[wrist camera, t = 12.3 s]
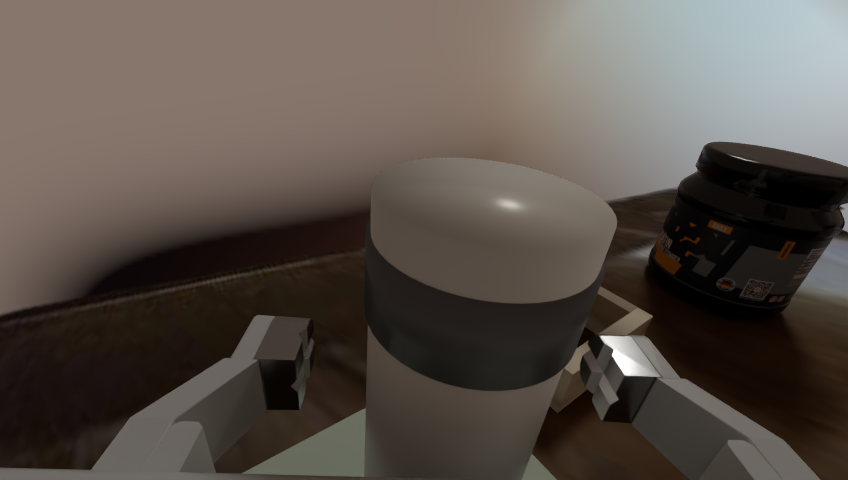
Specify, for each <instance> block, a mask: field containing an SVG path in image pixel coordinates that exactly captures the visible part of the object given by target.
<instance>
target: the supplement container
mask: <svg viewBox="0 0 848 480" xmlns="http://www.w3.org/2000/svg"><path fill="white" fill-rule="evenodd" d="M696 167H697V169H698V170H697V172H695V173H694V174H692V175H690V176H688V177H686V178H685V179H684V180H682V181H681V183H680V184H679V187H678V193H677V196H676V198H675V200H674V202H673V205H672V207H671V209H670V211H669V214H668V216H667V218H666V220H665V223H664V225H663V227H662V229H661V232H660V234H659V236H658V238H657V241H656V243H655V245H654V247H653V248H652V250H651V252H650V254H649V259H648V263H649V267H650V270H651V271H652V273H653V274H654V276H655V277H656V278H657V279H658V280H659V281H660V282H661V283H662V284H663V285H664V286H665V287H666V288H668V289H669V290H671V291H672V292H673V293H675V294H677V295H678V296H680V297H682V298H683V299H685V300H687V301H689V302H691V303H694V304H696V305H698V306H700V307H703V308H706V309H708V310H711V311H714V312H717V313H721V314H725V315H729V316H734V317H740V318H753V319H759V318H768V317H772V316H775V315H777V314H779V313H781V312H782V311H783V310H784V309H785V308H786V307H787V306H788V304H789V303H790V301H791V298H792V296H793V295H794V293H795V292H796V291H797V289H798V288H799V286H800V285H801V283H802V282H803V281H804V279H805V278H806V276H807V275H808V273H809V272H810V271H811V269H812V268H813V266H814V265H815V263H816V262H817V260H818V259H819V258H820V256H821V255H822V253H823V252H824V250H825V249H826V248H827V246H828V245H829V243H830V242H831V240H832V239H833V238H834V237H835V236H837V235H838V234H839V233H840V232H841V230H842V229H843V227H844V224H845V221H844V218H843V216H842V213H841V210H840V208H839V207H840V205H842V204H845V203H848V167H846V166H843V165H840V164H837V163H833V162H830V161H827V160H823V159H819V158H816V157H812V156H807V155H803V154H799V153H794V152H789V151H784V150H779V149H774V148H768V147H762V146H756V145H749V144H741V143H732V142H712V143H708V144H707V145H705V146H704V148H703V150H702V152H701V155H700V156H699V159H698V161H697V163H696Z"/></svg>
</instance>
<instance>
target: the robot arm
mask: <svg viewBox="0 0 848 480" xmlns="http://www.w3.org/2000/svg"><path fill="white" fill-rule="evenodd" d="M313 331H314V327H313V320H312V319H307V318H294V317H281V316H276V317H275V316H263V315H257V316H256V317H254V318H253V320H252V322H251V323H250V325H249V327H248V329H247V330H246V332H245V334H244V336H243V337H242V339H241V341H240V343H239V344H238V346H237V348H236V350H235V351H234V353H233V355H232V357H231V358H224V359H223V360H221V361H219V362H218V363H216V364H215V365H213V366H211V367H210V368H208V369H207V370H205V371H203V372H202V373H200V374H199V375H197V376H196V377H194V378H192V379H191V380H189V381H188V382H186V383H184V384H183V385H181V386H180V387H178V388H177V389H175V390H173V391H172V392H170V393H169V394H167V395H165V396H164V397H162V398H161V399H159V400H157V401H156V402H154V403H153V404H151V405H150V406H148V407H146V408H145V409H143V410H142V411H140V412H138V413H137V414H135V415H134V416H132V417H130V419H129V420H128V421H127V423H126V424H125V425H124V427H123V428H122V429H121V431H120V432H119V433H118V435H117V436H116V437H115V439H114V440H113V441H112V443H111V444H110V445H109V447H108V448H107V449H106V451H105V452H104V453H103V455H102V456H101V457H100V459H99V460H98V461H97V463H96V464H95V465H94V467H93V468H92V469H91V470H69V469H28V468H0V480H469V479H431V478H391V477H351V476H311V475H271V474H230V473H216V472H215V468H214V465H213V464H214V463H215V462H216V461H217V460H218V459H219V458H220V457H221V456H222V455H223V454H224V453H225V452H226V451H227V450H228V449H229V448H230V447H231V446H232V445H233V444H235V443H236V442H237V441H238V440H239V439H240V438H241V437H242V436H243V435H244V434H245V433H246V432H247V431H248V430H249V429H250V428H251V427H252V426H253V425H254V424H255V423H256V422H257V421H258V420H259V419H260V418H261V417H262V416H263V415H264V414H265V413H266V412H267V410H300V408H301V404H302V401H303V398H304V395H305V391H306V379H307V378H308V377H309V376H310V375H311V371H312V368H313V362H314V356H315V342H314V341H313V340H312V339H311V337H312V334H313ZM588 346H589V348H590V350H589V351H588V352H586V353H585V354H584V355H583V356H582V359H581V362H580V375H581V379H582V382H583V384H584V386H585V388H587V389H588V390H589V391H590V392H591V393H593V394H594V395H593V398H592V402H593V404H594V406H595V408H596V410H597V412H598V414H599V416H600V418H601V420H602V421H607V422H622V423H632V424H631V425H632V426H633V427H634V428H635V429H636V430H637V431H639V432H640V433H641V434H642V435H643V436H644V437H645V438H646V439H647V440H648V441H649V442H650V443H651V444H652V445H653V446H654V447H655V448H657V449H658V450H659V451H660V452H661V453H662V454H663V455H664V456H665V457H666V458H667V459H668V460H669V461H670V462H671V463H672V464H673V465H674V466H676V467H677V468H678V469H679V470H680V471H681V472H682V473H683V474H684V475H685V476H686V477H687V478H688V479H689V480H820V479H819V478H818V477H817V476H816V475H815V473H814V472H813V471H812V470H811V469H810V468H809V467H808V466H807V465H806V464H805V463H804V462H803V460H802V459H801V458H800V457H799V456H798V455H797V454H796V453H795V452H794V451H793V450H792V449H791V447H790V446H789V445H788V444H787V443H786V442H785V441H784V440H782V439H781V438H779V437H778V436H776V435H774V434H773V433H771V432H770V431H768V430H766V429H765V428H763V427H762V426H760V425H758V424H757V423H755V422H754V421H752V420H750V419H749V418H747V417H746V416H744V415H742V414H741V413H739V412H738V411H736V410H734V409H733V408H731V407H730V406H728V405H726V404H725V403H723V402H722V401H720V400H718V399H717V398H715V397H714V396H712V395H710V394H709V393H707V392H706V391H704V390H703V389H701V388H699V387H698V386H696V385H695V384H693V383H691V382H690V381H688V380H687V379H680V377H679V376H678V375H677V374H676V372H675V371H674V370H673V369H672V367H671V366H670V365H669V364H668V362H667V361H666V360H665V359H664V357H663V356H662V355H661V353H660V352H659V351H658V350H657V348H656V347H655V346H654V345H653V343H652V342H651V341H650V340H649V339H648V338H647V337H645V336H638V335H626V336H625V335H607V334H593V335H592V336H591V337H590V339H589V341H588Z"/></svg>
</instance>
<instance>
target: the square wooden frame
mask: <svg viewBox="0 0 848 480" xmlns="http://www.w3.org/2000/svg"><path fill="white" fill-rule="evenodd" d="M652 317H653V316H652V315H650V314H648V313H647V312H645V311H643V310H641V309H639V308H638V307H636V306H634V305H632V304H631V303H629V302H627V301H625V300H623V299H622V298H620V297H618V296H616V295H615V294H613V293H611V292H609V291H607V290H606V289H604V288H602V287H600V288H599V291H598V293H597V296H596V299H595V301H594V304H593V306H592V309H591V312H590V314H589V317H588V319H587V322H586V325H585V327H586V328H588V329H589V330H591V331H592V332H594V333H595V334H607V335H625V336H626V335H638V336H644V334H645V332H646V330H647V328H648V326H649V324H650V321H651V319H652ZM589 350H590V348H589V346H588V341H587V342H586V343H584V344H583V345H581V346H580V347H578V348H577V349H576V350H575V353H574V355H573V357H572V359H571V360H570V361H569V363H568V364H567V365H566V367H565V368H563V371H562V374H561V376H560V379H559V382H558V384H557V387H556V390H555V392H554V395H553V398H552V400H551V403H550V407H551V408H552V409H553V410H554V411H556V412H557V413H558V412H560V411H561V410H562V409H563V408H565V407H566V406H567V405H568V404H570V403H571V402H572V401H573V400H575V399H576V398H577V397H578V396H580V395H581V394H582V393H583V392H585V391H586V390H587V388H585V386H584V384H583V382H582V379H581V375H580V362H581V359H582V356H583V355H584V354H585V353H586V352H588V351H589Z"/></svg>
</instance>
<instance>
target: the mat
mask: <svg viewBox="0 0 848 480" xmlns="http://www.w3.org/2000/svg"><path fill="white" fill-rule="evenodd" d="M365 421H366V408H365V409H363V410H361V411H359V412H357V413H355V414H353V415H351V416H350V417H348V418H346V419H344V420H342V421H340V422H338V423H336V424H334V425H333V426H331V427H329V428H327V429H325V430H323V431H321V432H319V433H317V434H316V435H314V436H312V437H310V438H308V439H306V440H304V441H302V442H300V443H299V444H297V445H295V446H293V447H291V448H289V449H287V450H285V451H283V452H282V453H280V454H278V455H276V456H274V457H272V458H270V459H268V460H266V461H265V462H263V463H261V464H259V465H257V466H255V467H253V468H251V469H249V470H248V471H246V472H244V473H242V474H271V475H311V476H351V477H364V460H365ZM522 480H556V479H555V478H554V477H553V475H552V474H551V473H550V472H549V471H548V470H547V469H546V468H545V467H544V466H543V465H542V464H541V463H540V462H539V461H538V460H537V459H536V458H535V457H534V456H533V455H532V454H531V456H530V459H529V462H528V464H527V467H526V470H525V472H524V475H523V478H522Z"/></svg>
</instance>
